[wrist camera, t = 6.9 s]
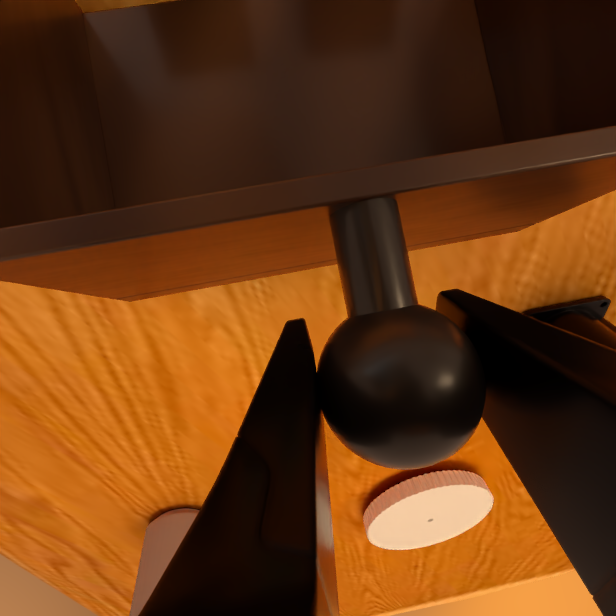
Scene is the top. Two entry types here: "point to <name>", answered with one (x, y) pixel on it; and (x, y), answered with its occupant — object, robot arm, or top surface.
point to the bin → (304, 166)
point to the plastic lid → (427, 510)
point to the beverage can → (159, 552)
